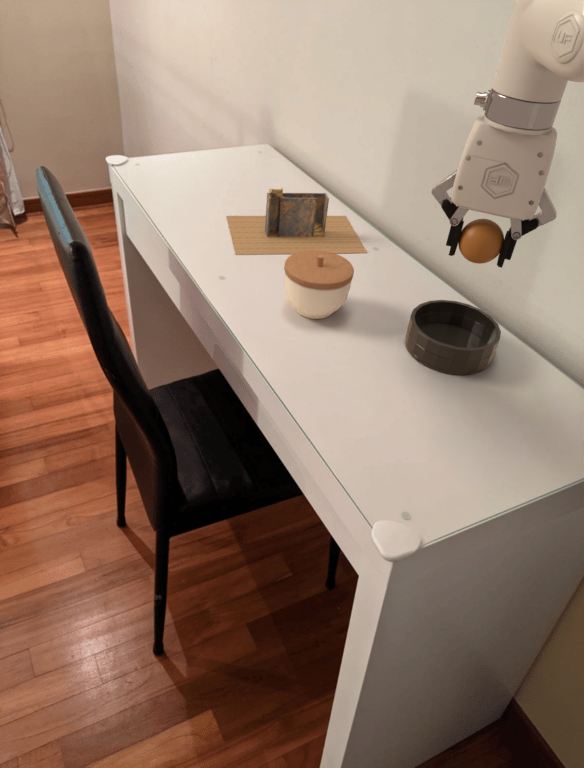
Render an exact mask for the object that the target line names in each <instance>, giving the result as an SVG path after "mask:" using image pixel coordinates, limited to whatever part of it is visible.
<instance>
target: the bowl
mask: <svg viewBox="0 0 584 768" xmlns="http://www.w3.org/2000/svg"><path fill="white" fill-rule="evenodd" d="M501 335H502V330H501V328H500V326H499V324H498V322H497V321H496V320H495V319H494V318H493V317H492V316H491V315H489V314H488V313H486V312H485V311H484V310H483V309H481V308H478V307H476V306H473V305H471V304H468V303H464V302H461V301H457V300H447V299H436V300H435V299H434V300H428V301H425V302H422V303H419V304H418V305H417V306H415V307H414V308H413V309H412V311H411V314H410V317H409V320H408V325H407V328H406V333H405V339H404V344H405V348H406V350H407V352H408V353H409V354H410V355H411V357H412V358H414V360H415V361H417V362H418V363H419V364H421V365H423V366H425V367H427V368H429V369H430V370H433V371H435V372H439V373H442V374H447V375H454V376H470V375H475V374H478V373H481V372H483V371H485V370H486V369H487V368H488V367H489V366H490V365H491V363H492V361H493V360H494V357H495V354H496V351H497V349H498V346H499V344H500V340H501Z"/></svg>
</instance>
